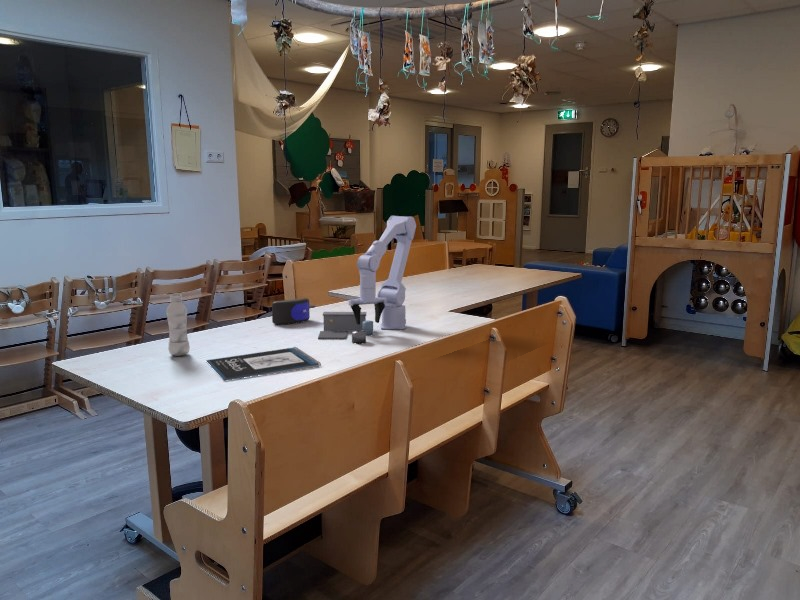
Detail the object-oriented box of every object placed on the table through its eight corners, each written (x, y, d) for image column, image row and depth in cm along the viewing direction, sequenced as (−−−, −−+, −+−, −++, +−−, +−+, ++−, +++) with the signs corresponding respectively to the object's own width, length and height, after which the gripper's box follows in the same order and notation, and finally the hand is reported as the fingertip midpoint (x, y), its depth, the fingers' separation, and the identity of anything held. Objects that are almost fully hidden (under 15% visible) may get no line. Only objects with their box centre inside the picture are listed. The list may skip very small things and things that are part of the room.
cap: (366, 340, 219) (366, 329, 218) (365, 344, 214) (365, 333, 213) (352, 340, 219) (352, 329, 218) (351, 344, 214) (351, 333, 213)
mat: (346, 332, 230) (346, 331, 230) (345, 339, 220) (345, 337, 220) (320, 332, 230) (320, 330, 229) (317, 339, 220) (317, 337, 220)
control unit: (366, 328, 237) (366, 311, 236) (366, 331, 232) (366, 314, 231) (323, 328, 237) (323, 311, 235) (322, 331, 232) (322, 314, 230)
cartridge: (373, 333, 229) (373, 320, 228) (373, 336, 225) (373, 322, 225) (362, 333, 229) (362, 320, 228) (362, 335, 225) (362, 322, 224)
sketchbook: (206, 364, 191) (206, 357, 190) (296, 351, 206) (296, 345, 205) (224, 383, 172) (224, 376, 172) (322, 368, 187) (321, 361, 187)
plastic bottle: (178, 359, 193) (174, 297, 189) (164, 355, 197) (160, 295, 193) (194, 354, 198) (191, 294, 195) (180, 351, 202) (177, 292, 198)
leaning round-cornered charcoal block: (276, 326, 238) (275, 303, 237) (271, 324, 242) (271, 301, 240) (313, 321, 247) (313, 299, 246) (308, 319, 251) (308, 297, 249)
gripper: (381, 284, 231) (381, 319, 233) (345, 286, 224) (345, 322, 227) (389, 287, 224) (388, 323, 227) (352, 289, 218) (352, 326, 221)
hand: (367, 323), depth 226 cm, fingers open, 7 cm apart
